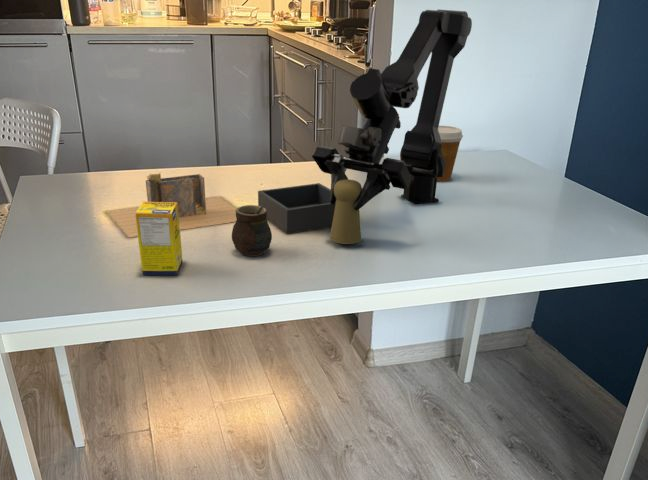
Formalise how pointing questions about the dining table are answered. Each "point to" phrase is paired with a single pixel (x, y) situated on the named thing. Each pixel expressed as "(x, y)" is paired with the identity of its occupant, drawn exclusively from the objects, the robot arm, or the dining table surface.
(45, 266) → the dining table surface
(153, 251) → the supplement box
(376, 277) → the dining table surface
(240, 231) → the mate gourd
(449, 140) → the disposable coffee cup
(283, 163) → the dining table surface
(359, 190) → the tan pawn figure
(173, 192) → the architectural model on board
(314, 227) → the bin
